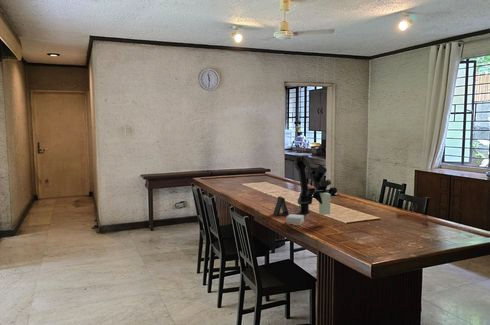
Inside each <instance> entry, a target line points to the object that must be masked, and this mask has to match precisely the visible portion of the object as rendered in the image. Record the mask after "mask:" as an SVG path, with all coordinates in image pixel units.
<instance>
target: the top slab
mask: <svg viewBox="0 0 490 325" xmlns="http://www.w3.org/2000/svg"><path fill="white" fill-rule="evenodd" d="M303 220H304V221H305V215H303V214H293V213H292V214H291V213H290V214H289V215H286V218H285V222H286V221H288V222H298V223H301V222H302V221H303Z"/></svg>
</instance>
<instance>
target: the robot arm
mask: <svg viewBox="0 0 490 325" xmlns="http://www.w3.org/2000/svg"><path fill="white" fill-rule="evenodd" d="M293 164H294V168H295V170H297V171H298V178H299V186H300V192H299V197H298V199H297V204H298V205H299V206H300V211H299V212H298V214H305V215H308V214H309V213H311V211H310V210H309V209H310V205H312V204H313V198H314V200H316V201H317V202H318V204H319V203H321V204H322V200H321V198H320V195H319V193H329V194H331V197H333V196H335V195H336V194H337V192H338V189H337V187H333V186H332V187H329V189H328V186H331V185H332V181H331V179H326V180H324V179H323V178H324V177H325V175H326V173H327V171H328V170H327V167H325V166H324V165H322V164H319V165H318V164H315V163H314V162H313V161H312V160H311V158H310V157H309V155H301V156H299V157H296V158H295V159H294V160H293ZM306 168H307V172H308V175H309V176H312V177H311V182H312V183H313V185H314V187H313V188H312V187H311V188H309V186H308V180H307V174H306Z"/></svg>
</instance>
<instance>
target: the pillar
mask: <svg viewBox="0 0 490 325" xmlns="http://www.w3.org/2000/svg"><path fill="white" fill-rule="evenodd" d="M319 195H320V198H321V200H322V204H321V203H319V202H318V214H320V215H323V216H324V215H330V214H331V199H332V198H331V197H332V196H331V194H329V193H319Z"/></svg>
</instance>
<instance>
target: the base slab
mask: <svg viewBox="0 0 490 325" xmlns="http://www.w3.org/2000/svg"><path fill="white" fill-rule="evenodd" d="M303 222H304V223H305V219H304V220H303V221H302V222H301V223H298V222H288V221H286V220H285V223H286V225H289V224H293V225H292V226H299V225H301V224H302V223H303ZM304 223H303V224H304ZM303 224H302V225H303ZM302 225H301V226H302Z"/></svg>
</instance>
